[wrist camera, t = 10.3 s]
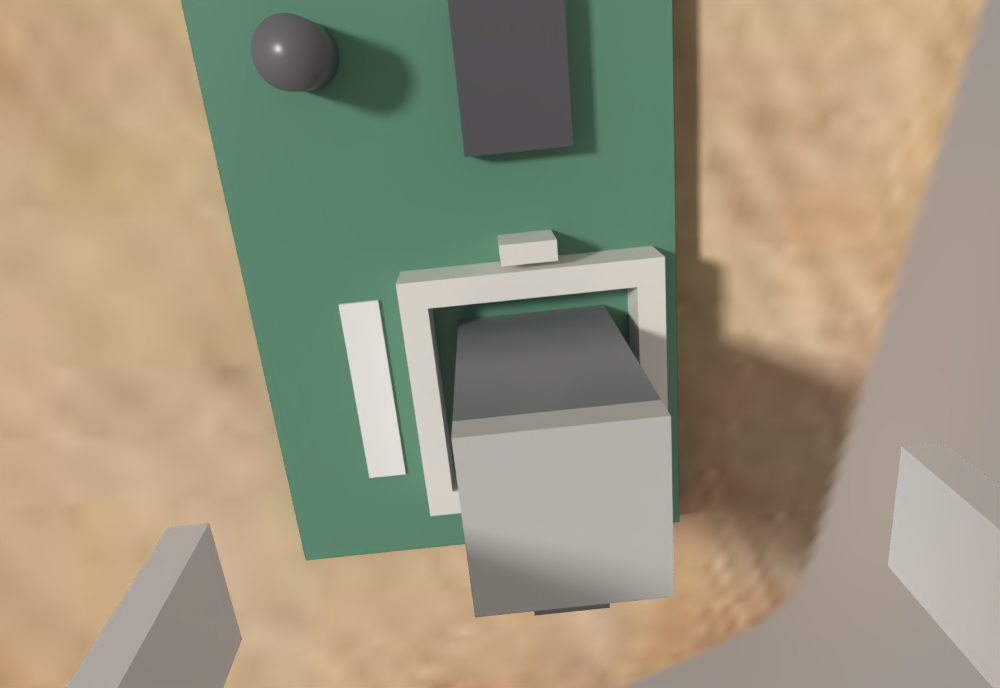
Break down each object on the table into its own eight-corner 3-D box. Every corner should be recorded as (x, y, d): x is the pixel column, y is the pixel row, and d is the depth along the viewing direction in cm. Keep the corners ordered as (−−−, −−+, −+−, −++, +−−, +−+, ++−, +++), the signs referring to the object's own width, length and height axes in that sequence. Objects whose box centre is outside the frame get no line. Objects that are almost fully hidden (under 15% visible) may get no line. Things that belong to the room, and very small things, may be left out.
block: (458, 319, 22) (451, 438, 15) (603, 304, 22) (671, 415, 15) (476, 470, 24) (478, 645, 16) (611, 456, 24) (674, 625, 16)
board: (173, -93, 19) (121, -124, 16) (660, -142, 19) (692, -182, 16) (311, 543, 26) (292, 599, 23) (671, 506, 26) (696, 557, 23)
